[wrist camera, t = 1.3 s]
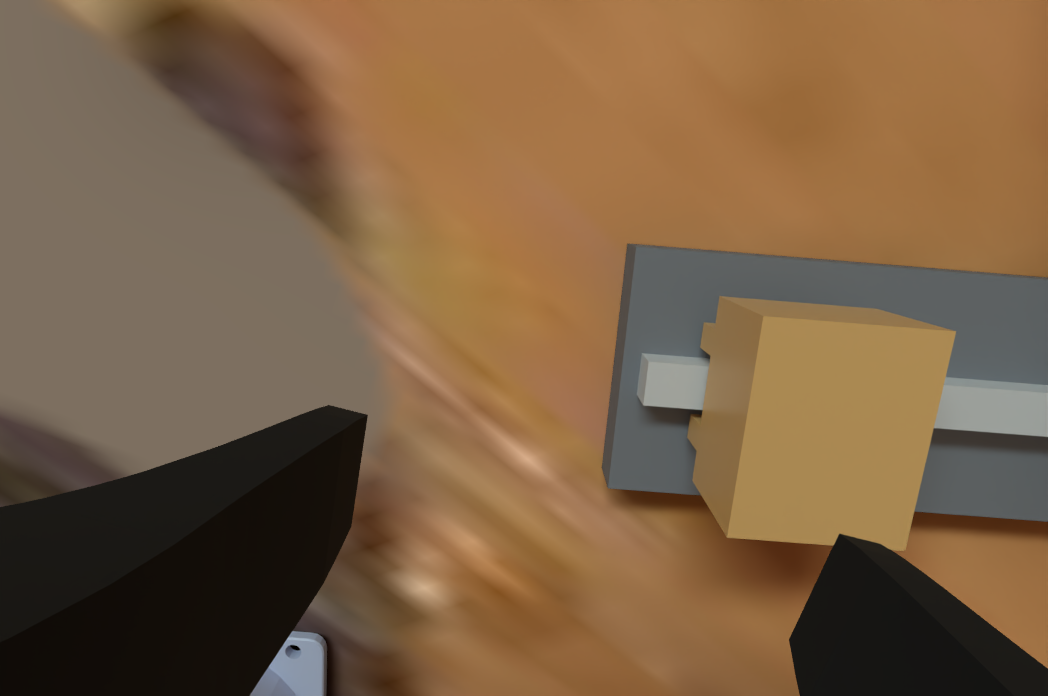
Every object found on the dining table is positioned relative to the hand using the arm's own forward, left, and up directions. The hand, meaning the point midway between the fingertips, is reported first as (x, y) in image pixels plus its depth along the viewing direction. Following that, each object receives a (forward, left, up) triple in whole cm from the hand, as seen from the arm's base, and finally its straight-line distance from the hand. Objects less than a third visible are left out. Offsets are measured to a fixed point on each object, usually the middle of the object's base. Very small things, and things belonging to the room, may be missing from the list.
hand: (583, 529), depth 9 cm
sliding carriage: (+6, 0, -8) cm, 10 cm away
